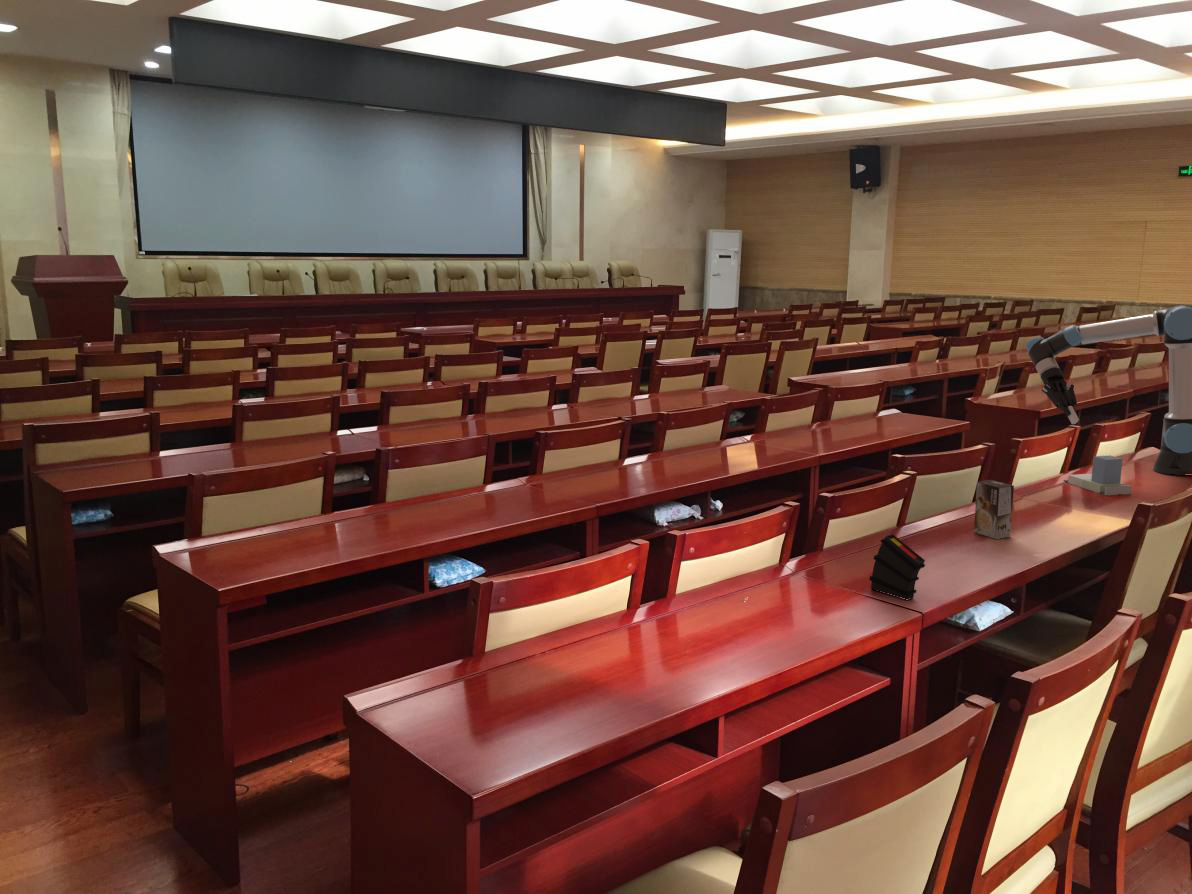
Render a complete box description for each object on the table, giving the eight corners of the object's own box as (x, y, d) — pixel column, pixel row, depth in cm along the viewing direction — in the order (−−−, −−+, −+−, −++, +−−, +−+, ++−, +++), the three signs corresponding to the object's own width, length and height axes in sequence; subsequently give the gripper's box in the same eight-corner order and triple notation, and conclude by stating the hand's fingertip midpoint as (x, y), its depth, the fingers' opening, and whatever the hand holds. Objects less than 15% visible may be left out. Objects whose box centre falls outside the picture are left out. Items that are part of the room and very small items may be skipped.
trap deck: (1086, 479, 362) (1087, 472, 361) (1130, 493, 340) (1131, 485, 340) (1063, 481, 360) (1064, 473, 359) (1106, 495, 338) (1106, 487, 338)
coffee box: (1011, 537, 290) (1015, 485, 287) (995, 539, 287) (1000, 487, 284) (987, 529, 298) (991, 479, 295) (972, 532, 295) (975, 481, 292)
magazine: (868, 577, 249) (892, 532, 242) (906, 611, 241) (933, 565, 234) (859, 580, 247) (883, 535, 240) (897, 614, 239) (924, 569, 232)
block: (1108, 479, 349) (1110, 455, 347) (1120, 483, 343) (1122, 458, 341) (1091, 480, 347) (1093, 456, 346) (1102, 484, 342) (1105, 459, 340)
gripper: (1059, 377, 376) (1085, 427, 364) (1029, 378, 374) (1054, 428, 361) (1069, 365, 370) (1096, 415, 357) (1039, 367, 367) (1065, 417, 355)
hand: (1075, 422), depth 359 cm, fingers closed
